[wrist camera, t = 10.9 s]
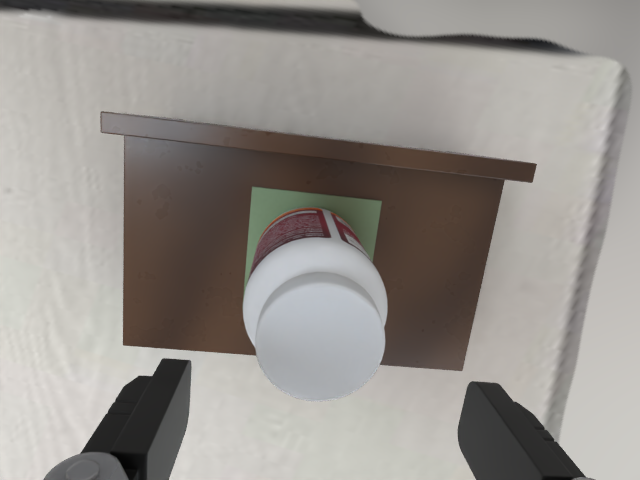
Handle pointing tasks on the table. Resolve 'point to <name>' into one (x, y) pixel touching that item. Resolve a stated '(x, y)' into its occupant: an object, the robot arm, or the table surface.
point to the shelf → (290, 193)
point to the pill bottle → (315, 306)
